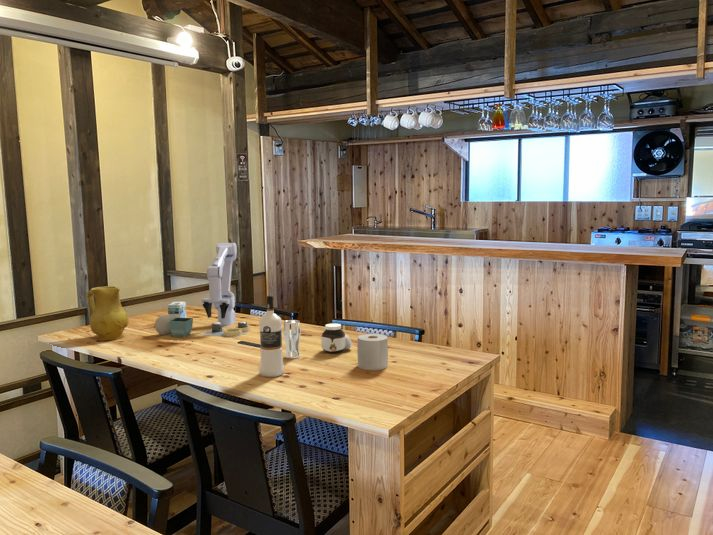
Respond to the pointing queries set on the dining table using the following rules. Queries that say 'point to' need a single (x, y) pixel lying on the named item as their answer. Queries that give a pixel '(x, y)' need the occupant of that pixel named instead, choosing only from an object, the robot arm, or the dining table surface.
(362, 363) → the toilet paper roll
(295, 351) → the beer glass
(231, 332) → the board
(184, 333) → the flower pot
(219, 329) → the cap
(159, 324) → the ball
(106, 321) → the pitcher
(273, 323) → the vodka
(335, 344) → the spread jar
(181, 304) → the light bulb box
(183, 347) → the dining table surface
